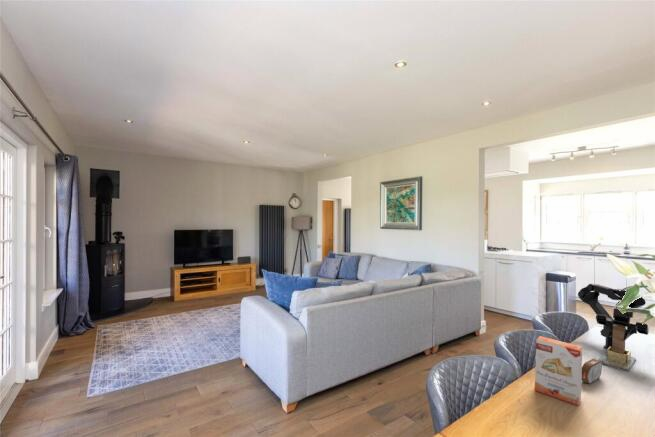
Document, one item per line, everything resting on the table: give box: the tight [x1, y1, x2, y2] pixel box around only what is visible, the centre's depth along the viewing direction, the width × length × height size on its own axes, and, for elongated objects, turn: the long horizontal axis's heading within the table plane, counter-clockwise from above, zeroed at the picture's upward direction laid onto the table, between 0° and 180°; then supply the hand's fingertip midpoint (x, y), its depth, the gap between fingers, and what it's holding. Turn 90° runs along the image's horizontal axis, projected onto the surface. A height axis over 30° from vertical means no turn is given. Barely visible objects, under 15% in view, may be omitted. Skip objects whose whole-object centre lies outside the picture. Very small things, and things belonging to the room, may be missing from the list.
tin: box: [581, 358, 603, 385], centre depth 133 cm, size 15×3×8 cm, turn 120°
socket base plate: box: [597, 346, 637, 372], centre depth 152 cm, size 20×11×5 cm, turn 128°
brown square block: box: [612, 324, 627, 354], centre depth 152 cm, size 4×4×12 cm
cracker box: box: [534, 335, 583, 407], centre depth 121 cm, size 14×6×21 cm, turn 44°
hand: (618, 338), depth 151 cm, fingers closed on brown square block, 4 cm apart
